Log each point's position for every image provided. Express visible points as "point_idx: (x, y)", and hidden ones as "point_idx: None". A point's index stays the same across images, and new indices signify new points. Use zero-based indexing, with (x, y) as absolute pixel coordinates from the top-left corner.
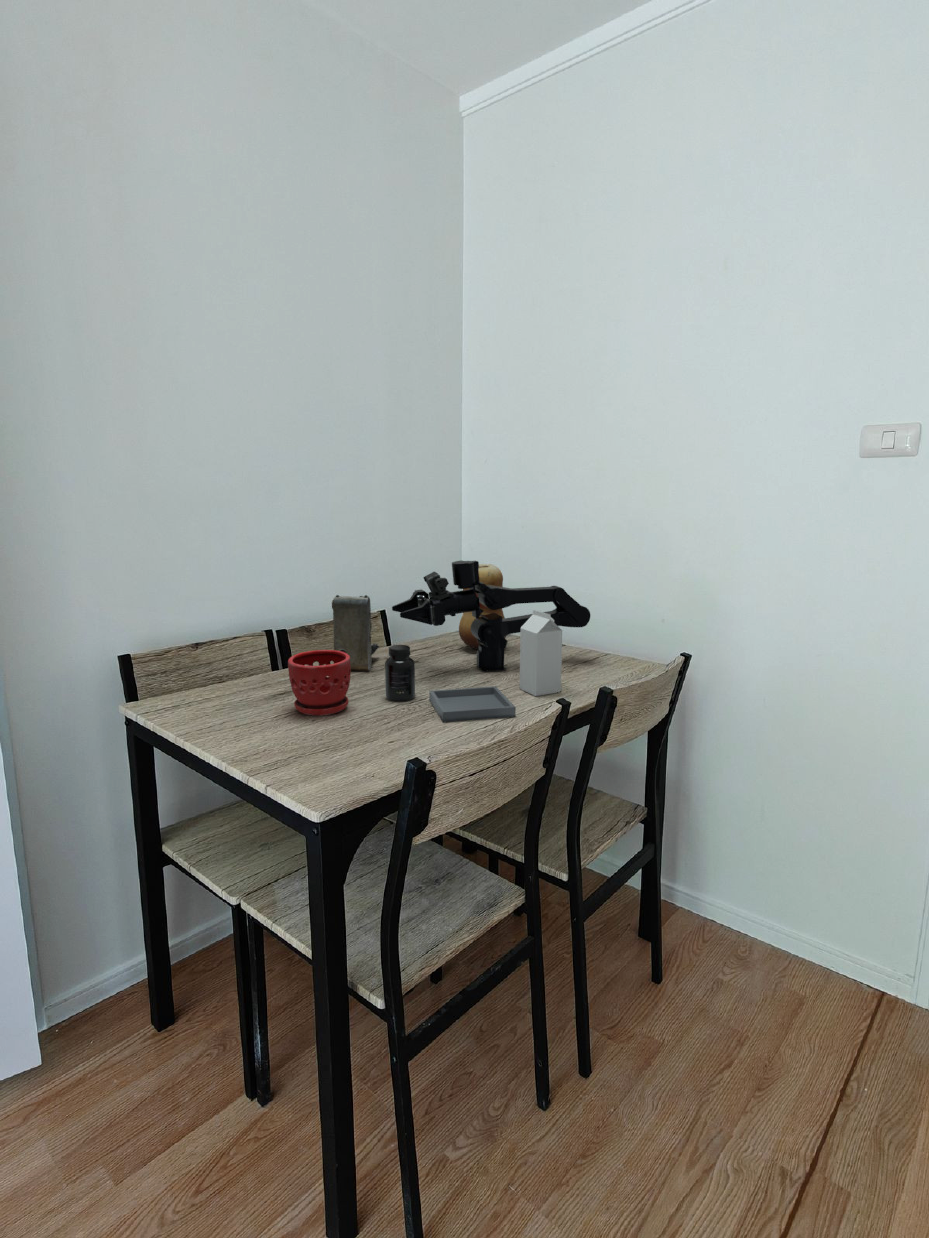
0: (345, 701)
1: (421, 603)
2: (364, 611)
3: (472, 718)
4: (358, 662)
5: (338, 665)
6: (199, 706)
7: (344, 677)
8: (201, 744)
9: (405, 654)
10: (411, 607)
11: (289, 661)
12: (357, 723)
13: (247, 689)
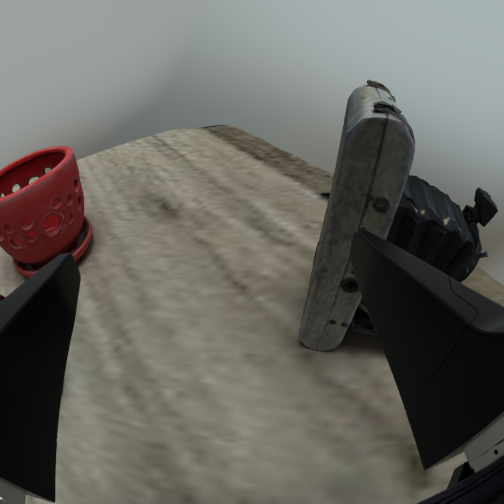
0: (22, 268)
1: (488, 465)
2: (339, 166)
3: None
4: (305, 304)
5: None
6: (153, 155)
7: (30, 239)
8: None
9: None
10: (433, 380)
11: (39, 150)
12: None
13: (209, 176)
